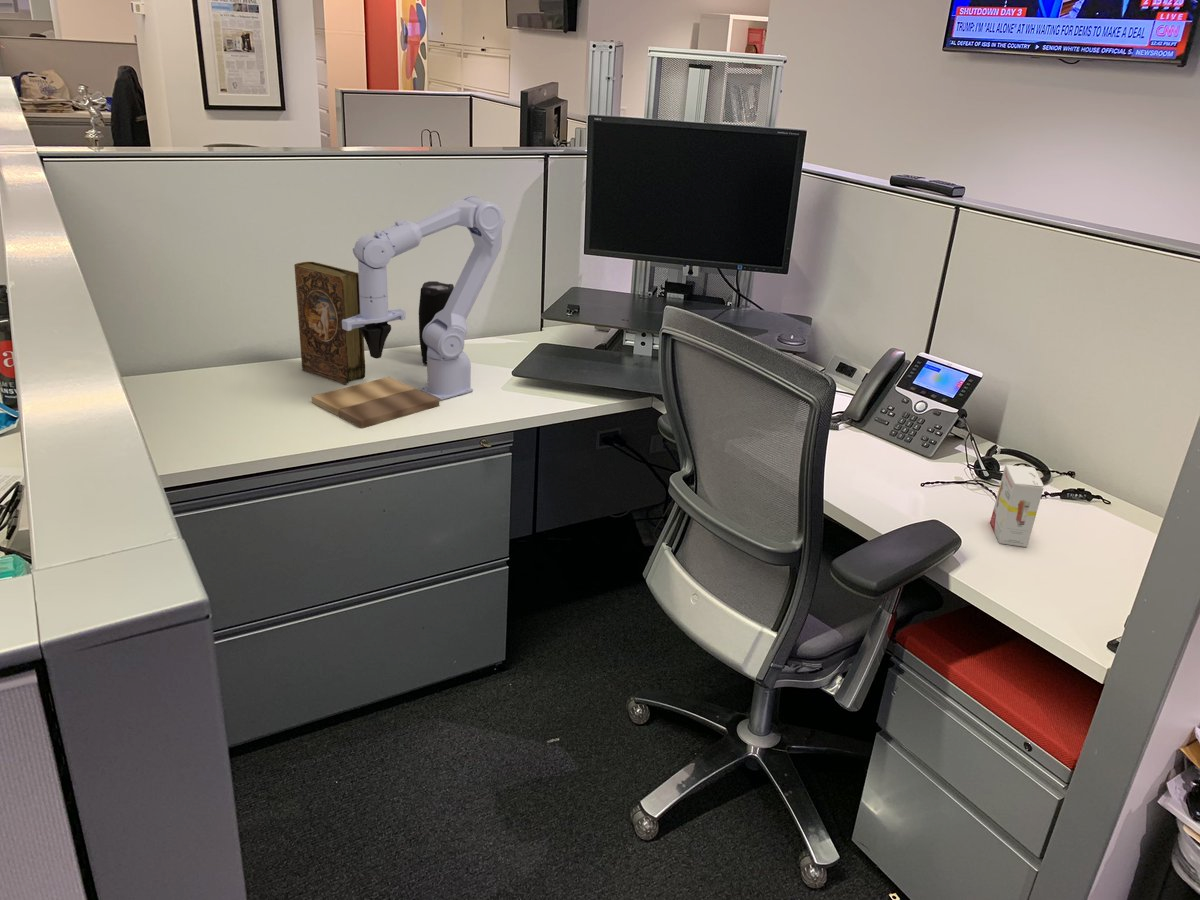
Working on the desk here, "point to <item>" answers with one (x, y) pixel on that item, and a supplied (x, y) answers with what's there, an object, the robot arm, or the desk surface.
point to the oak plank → (359, 394)
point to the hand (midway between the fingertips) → (375, 357)
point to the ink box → (1016, 505)
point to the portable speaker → (431, 306)
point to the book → (329, 322)
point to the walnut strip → (388, 408)
